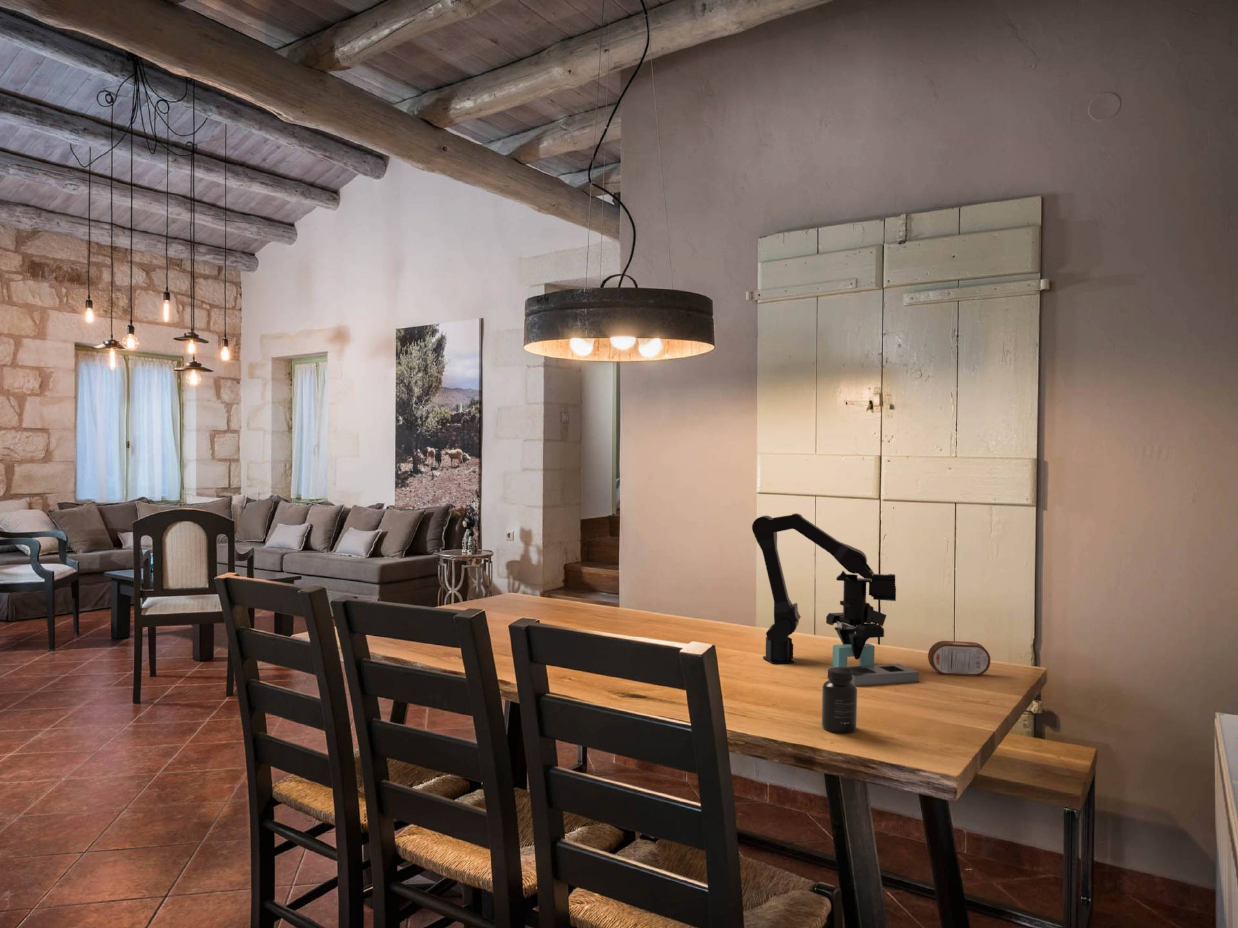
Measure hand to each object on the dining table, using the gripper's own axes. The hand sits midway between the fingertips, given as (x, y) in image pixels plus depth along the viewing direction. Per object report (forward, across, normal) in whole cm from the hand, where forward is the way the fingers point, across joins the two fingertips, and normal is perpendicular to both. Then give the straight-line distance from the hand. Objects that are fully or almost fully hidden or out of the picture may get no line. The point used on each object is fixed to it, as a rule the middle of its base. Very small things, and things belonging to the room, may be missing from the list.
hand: (853, 657), depth 209 cm
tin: (+3, -11, -24) cm, 27 cm away
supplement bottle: (+3, -41, +29) cm, 50 cm away
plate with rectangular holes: (+3, -11, 0) cm, 11 cm away
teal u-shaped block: (+3, 0, 0) cm, 3 cm away
